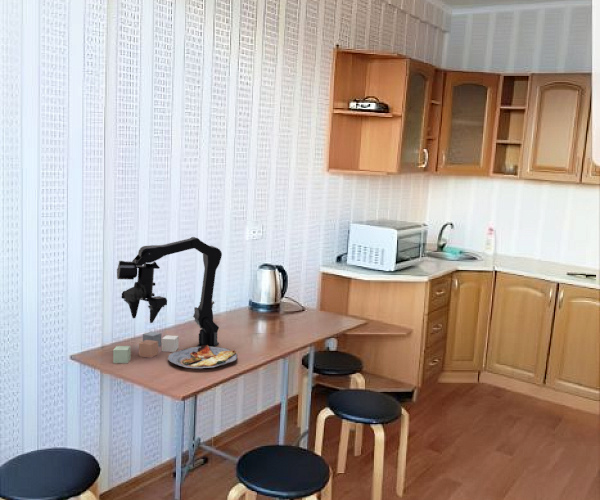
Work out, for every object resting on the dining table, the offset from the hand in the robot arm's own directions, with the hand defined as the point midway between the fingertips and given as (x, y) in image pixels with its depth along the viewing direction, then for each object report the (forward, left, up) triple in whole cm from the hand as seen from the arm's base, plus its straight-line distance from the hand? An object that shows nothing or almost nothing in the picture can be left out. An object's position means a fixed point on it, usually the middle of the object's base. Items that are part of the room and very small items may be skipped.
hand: (142, 320), depth 234 cm
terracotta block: (-4, +3, -12) cm, 13 cm away
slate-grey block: (+1, -8, -12) cm, 15 cm away
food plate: (-26, +2, -13) cm, 29 cm away
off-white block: (-8, -6, -12) cm, 16 cm away
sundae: (-4, -47, -12) cm, 49 cm away
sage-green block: (+1, +13, -12) cm, 18 cm away
